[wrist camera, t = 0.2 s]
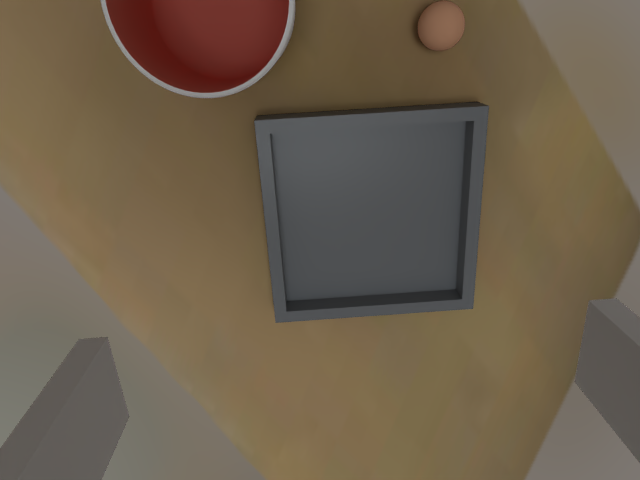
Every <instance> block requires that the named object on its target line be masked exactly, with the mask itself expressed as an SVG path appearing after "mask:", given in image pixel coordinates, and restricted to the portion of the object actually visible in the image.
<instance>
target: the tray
mask: <svg viewBox="0 0 640 480" xmlns="http://www.w3.org/2000/svg"><path fill="white" fill-rule="evenodd" d="M488 110H489V106H488V105H485V104H482V103H479V102H466V103H450V104H434V105H418V106H402V107H386V108H371V109H355V110H339V111H323V112H307V113H291V114H275V115H259V116H256V118H255V120H254V122H255V132H256V141H257V151H258V160H259V170H260V179H261V188H262V198H263V207H264V217H265V226H266V236H267V245H268V255H269V264H270V273H271V283H272V292H273V302H274V311H275V321H276V323H278V322H292V321H306V320H320V319H334V318H349V317H363V316H377V315H391V314H405V313H419V312H434V311H448V310H462V309H473V303H474V290H475V277H476V264H477V251H478V238H479V226H480V213H481V200H482V187H483V174H484V162H485V149H486V136H487V123H488Z"/></svg>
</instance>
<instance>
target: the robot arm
mask: <svg viewBox="0 0 640 480" xmlns="http://www.w3.org/2000/svg"><path fill="white" fill-rule="evenodd" d="M575 383H576V384H577V385H578V387H579V388H580V389H581V390H582V392H583V393H584V394H585V395H586V397H587V398H588V399H589V400H590V402H591V403H592V404H593V405H594V407H595V408H596V409H597V410H598V411H599V413H600V414H601V415H602V417H603V418H604V419H605V420H606V422H607V423H608V424H609V425H610V426H611V428H612V429H613V430H614V431H615V433H616V434H617V435H618V436H619V438H620V439H621V440H622V441H623V443H624V444H625V445H626V446H627V448H628V449H629V450H630V451H631V453H632V454H633V455H634V456H635V458H636V459H637V460H638V461H639V462H640V317H639V316H637V315H636V314H635V313H633V312H632V311H631V310H630V309H629V308H627V307H626V306H625V305H624V304H623V303H621V302H620V301H619V300H618V299H617V298H616V299H603V300H590V301H589V303H588V309H587V315H586V320H585V326H584V331H583V337H582V343H581V348H580V354H579V360H578V365H577V371H576V376H575ZM128 418H129V414H128V410H127V407H126V403H125V399H124V396H123V392H122V388H121V385H120V381H119V377H118V374H117V370H116V366H115V362H114V359H113V355H112V352H111V348H110V344H109V341H108V337H100V338H88V339H79V340H78V341H77V342H76V344H75V345H74V347H73V348H72V349H71V351H70V352H69V354H68V355H67V356H66V358H65V359H64V361H63V362H62V363H61V365H60V366H59V368H58V369H57V370H56V372H55V373H54V374H53V376H52V377H51V379H50V380H49V381H48V383H47V384H46V386H45V387H44V388H43V390H42V391H41V393H40V394H39V395H38V397H37V398H36V400H35V401H34V402H33V404H32V405H31V406H30V408H29V409H28V411H27V412H26V413H25V415H24V416H23V417H22V419H21V420H20V422H19V423H18V425H17V426H16V427H15V429H14V430H13V432H12V433H11V434H10V436H9V437H8V438H7V440H6V441H5V443H4V444H3V445H2V447H1V448H0V480H101V479H102V477H103V475H104V473H105V471H106V468H107V466H108V464H109V461H110V459H111V457H112V455H113V452H114V450H115V448H116V446H117V443H118V440H119V439H120V437H121V434H122V432H123V430H124V427H125V425H126V423H127V421H128Z"/></svg>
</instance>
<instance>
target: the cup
mask: <svg viewBox="0 0 640 480" xmlns="http://www.w3.org/2000/svg"><path fill="white" fill-rule="evenodd" d="M101 5H102V9H103V13H104V16H105V19H106V22H107V25H108V27H109V29H110V32H111V34H112V36H113V38H114V39H115V41H116V43H117V45H118V46H119V48H120V49H121V51H122V52H123V53H124V55H125V56H126V57H127V59H128V60H129V61H130V62H131V63H132V64H133V65H134V66H135V67H136V68H137V69H138V70H139V71H140V72H141V73H142V74H143V75H145V76H146V77H147V78H149V79H150V80H152V81H153V82H155V83H156V84H158V85H160V86H161V87H163V88H165V89H168V90H170V91H172V92H175V93H178V94H181V95H185V96H189V97H195V98H217V97H224V96H228V95H232V94H235V93H237V92H240V91H242V90H244V89H246V88H248V87H250V86H251V85H253V84H254V83H256V82H257V81H258V80H260V79H261V78H262V77H263V76H264V75H265V74H266V73H267V72H268V71H269V70H270V69H271V68H272V67H273V66H274V64H275V63H276V62H277V60H278V59H279V58H280V57H281V55H282V54H283V52H284V50H285V49H286V47H287V45H288V43H289V40H290V37H291V35H292V31H293V27H294V21H295V0H101Z"/></svg>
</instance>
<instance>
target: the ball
mask: <svg viewBox="0 0 640 480" xmlns="http://www.w3.org/2000/svg"><path fill="white" fill-rule="evenodd" d="M464 29H465V18H464V15H463V12H462V11H461V9H460V8H459V7H458V6H457V5H456V4H454V3H452V2H450V1H437V2H435V3H432V4H431V5H429V6H428V7H427V8H426V9H425V10H424V11H423V12H422V14H421V16H420V18H419V21H418V35H419V38H420V40H421V42H422V43H423V44H424V45H425V46H426V47H427V48H429V49H431V50H435V51H443V50H447V49H449V48H451V47H453V46H454V45H455V44H456V43H457V42H458V41H459V40H460V38H461V37H462V35H463V32H464Z"/></svg>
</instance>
